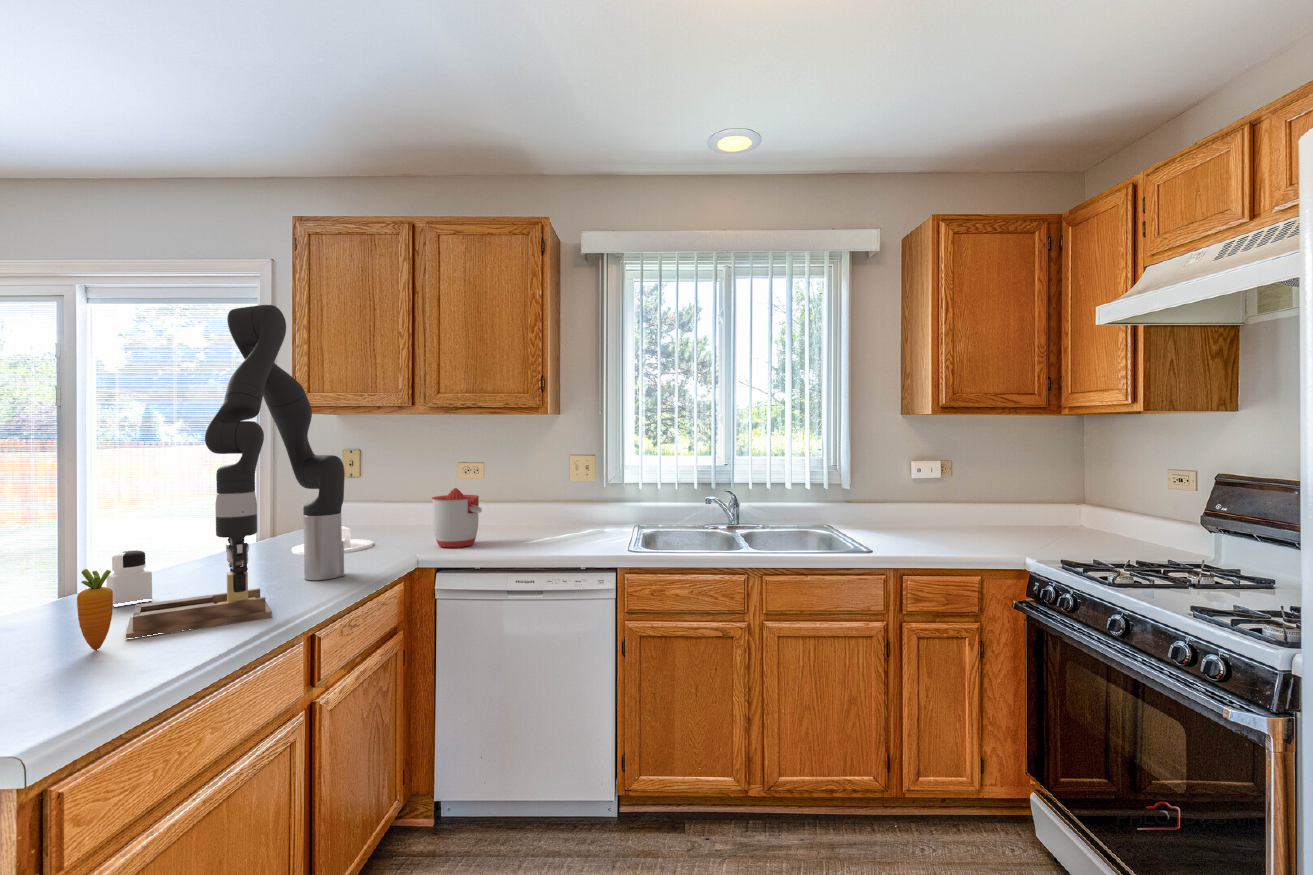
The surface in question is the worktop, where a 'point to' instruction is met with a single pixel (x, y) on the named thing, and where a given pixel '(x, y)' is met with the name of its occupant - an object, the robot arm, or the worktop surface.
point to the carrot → (95, 608)
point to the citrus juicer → (455, 519)
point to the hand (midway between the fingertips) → (238, 587)
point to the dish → (349, 543)
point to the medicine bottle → (129, 577)
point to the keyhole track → (195, 613)
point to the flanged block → (238, 595)
